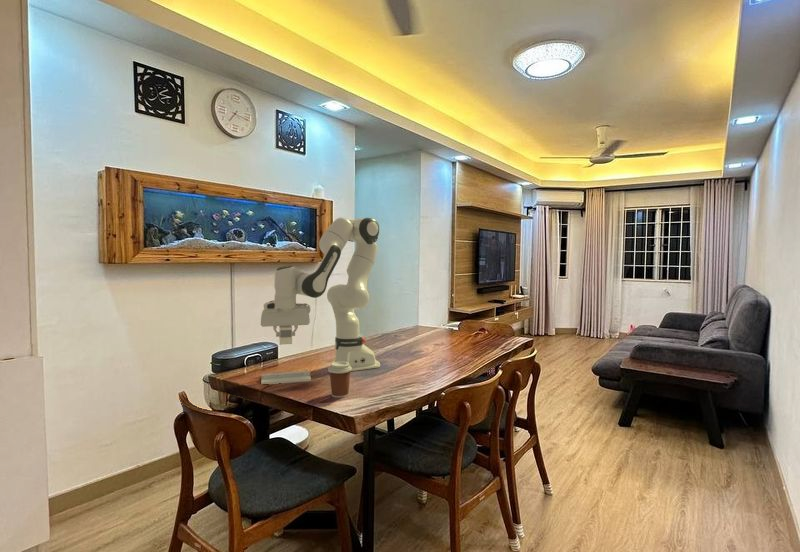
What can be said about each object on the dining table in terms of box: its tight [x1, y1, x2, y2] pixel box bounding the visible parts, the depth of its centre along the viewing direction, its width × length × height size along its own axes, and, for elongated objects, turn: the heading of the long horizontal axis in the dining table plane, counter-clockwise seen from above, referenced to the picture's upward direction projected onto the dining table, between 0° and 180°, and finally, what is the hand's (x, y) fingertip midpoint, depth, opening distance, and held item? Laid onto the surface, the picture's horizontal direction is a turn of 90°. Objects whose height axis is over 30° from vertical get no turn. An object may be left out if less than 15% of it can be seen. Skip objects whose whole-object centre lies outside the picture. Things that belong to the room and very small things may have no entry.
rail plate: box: [260, 370, 312, 386], centre depth 180 cm, size 20×12×2 cm, turn 107°
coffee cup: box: [327, 361, 353, 399], centre depth 159 cm, size 9×9×12 cm
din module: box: [278, 326, 293, 346], centre depth 179 cm, size 5×9×7 cm, turn 17°
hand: (285, 336), depth 179 cm, fingers closed on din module, 5 cm apart
